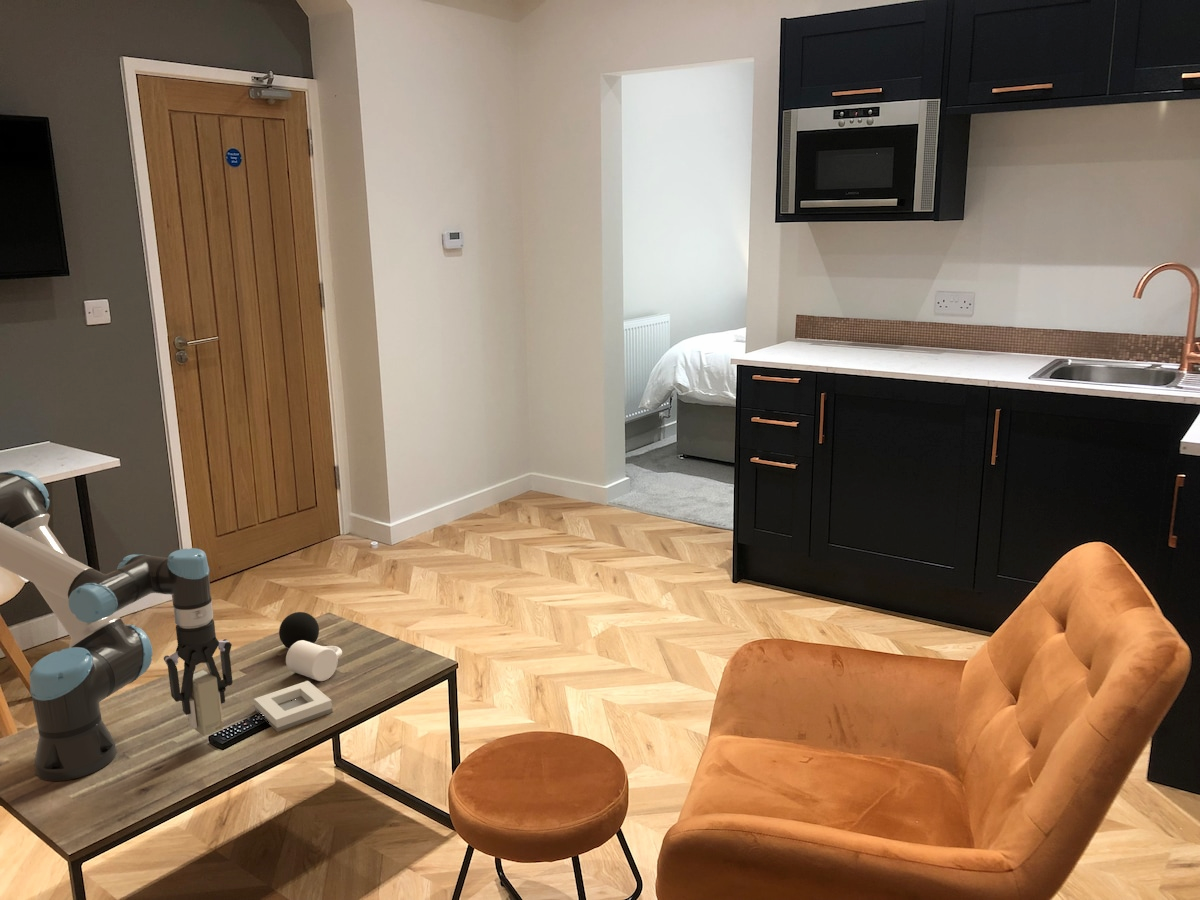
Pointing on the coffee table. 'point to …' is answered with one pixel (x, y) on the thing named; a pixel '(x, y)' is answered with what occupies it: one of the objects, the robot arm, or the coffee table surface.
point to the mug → (313, 659)
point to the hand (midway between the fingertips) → (206, 721)
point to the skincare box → (206, 703)
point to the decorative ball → (298, 629)
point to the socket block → (293, 705)
